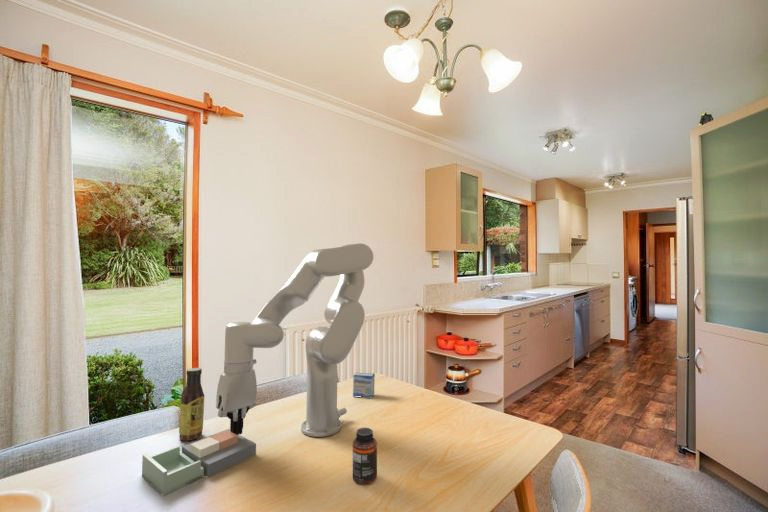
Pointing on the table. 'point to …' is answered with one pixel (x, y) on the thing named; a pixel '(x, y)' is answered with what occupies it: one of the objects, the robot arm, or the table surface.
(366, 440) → the supplement bottle
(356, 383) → the medicine box
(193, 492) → the table surface
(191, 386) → the sauce bottle
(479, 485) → the table surface
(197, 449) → the cream tile
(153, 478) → the bin
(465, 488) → the table surface
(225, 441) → the terracotta tile
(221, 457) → the slate board
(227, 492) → the table surface
